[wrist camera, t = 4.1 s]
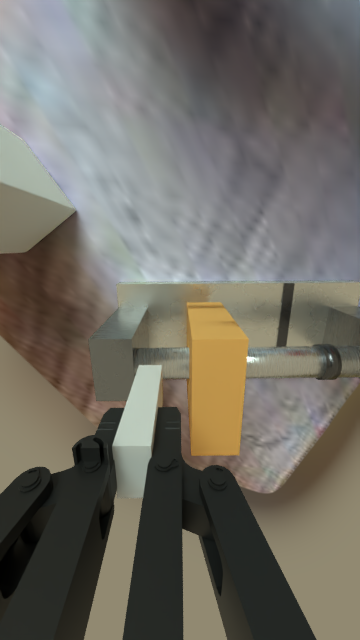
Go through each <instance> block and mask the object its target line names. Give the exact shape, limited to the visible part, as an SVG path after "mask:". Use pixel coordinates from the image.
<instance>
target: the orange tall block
mask: <svg viewBox="0 0 360 640" xmlns="http://www.w3.org/2000/svg"><path fill="white" fill-rule="evenodd" d="M248 343H249V339H248V337H247V336H246V335H245V333H244V332H243V331H242V329H241V328H240V327H239V325H238V324H237V323H236V322H235V320H234V319H233V318H232V316H231V315H230V314H229V312H228V311H227V310H226V308H225V307H224V306H223V304H222V303H221V302H187V347H189V379H187V394H188V411H189V427H190V443H191V456H209V455H239V451H240V439H241V427H242V415H243V403H244V391H245V379H246V367H247V355H248Z"/></svg>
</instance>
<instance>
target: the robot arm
mask: <svg viewBox="0 0 360 640" xmlns="http://www.w3.org/2000/svg"><path fill="white" fill-rule="evenodd" d="M162 405H163V383H162V365H139V367H138V370H137V373H136V376H135V379H134V382H133V385H132V388H131V391H130V394H129V397H128V400H127V403H126V406H125V408H110V409H109V410H108V411H107V412H106V413H105V414H104V415H103V418H102V420H101V422H100V424H99V427H98V430H97V431H96V434H95V435H91V436H87V437H85V438H82V439H81V440H79V441H78V442H77V443H76V444H75V445H74V446H73V448H72V451H73V457H74V463H75V466H74V467H72V468H70V469H67V470H64V471H61V472H57V473H54V474H51V473H50V471H49V469H47V468H45V467H35V468H32V469H29V470H27V471H25V472H23V473H22V474H21V475H20V476H18V477H17V478H16V479H15V480H14V481H13V482H12V483H11V484H10V485H9V486H8V487H7V488H6V489H5V490H4V491H3V492H2V493H1V494H0V640H84V636H85V631H86V628H87V623H88V619H89V615H90V611H91V607H92V602H93V598H94V594H95V590H96V586H97V581H98V578H99V573H100V569H101V565H102V561H103V557H104V553H105V548H106V544H107V540H108V535H109V532H110V527H111V523H112V519H113V515H114V497H115V494H116V490H117V498H143V501H142V508H141V516H140V522H139V529H138V536H137V543H136V550H135V557H134V564H133V571H132V578H131V585H130V592H129V599H128V606H127V612H126V619H125V626H124V634H123V640H183V567H182V566H183V562H182V529H185V530H187V531H190V532H192V533H195V534H197V535H199V539H200V543H201V546H202V550H203V553H204V557H205V561H206V564H207V568H208V571H209V575H210V578H211V582H212V586H213V589H214V593H215V597H216V600H217V604H218V608H219V611H220V615H221V618H222V621H223V625H224V629H225V632H226V636H227V640H316V638H315V636H314V634H313V632H312V630H311V628H310V626H309V624H308V622H307V620H306V618H305V616H304V614H303V612H302V610H301V608H300V606H299V604H298V602H297V600H296V598H295V596H294V594H293V592H292V590H291V588H290V586H289V584H288V582H287V581H286V578H285V577H284V574H283V572H282V570H281V569H280V566H279V565H278V563H277V561H276V559H275V557H274V555H273V553H272V551H271V549H270V547H269V545H268V543H267V541H266V539H265V537H264V535H263V533H262V531H261V529H260V527H259V525H258V523H257V521H256V519H255V517H254V515H253V513H252V511H251V509H250V507H249V505H248V503H247V501H246V499H245V497H244V495H243V493H242V491H241V489H240V487H239V485H238V483H237V481H236V479H235V477H234V476H233V474H232V473H231V472H230V471H229V470H228V469H226V468H225V467H222V466H219V465H211V466H209V467H207V468H205V469H204V470H203V471H200V470H197V469H194V468H192V467H190V466H189V465H187V464H186V463H185V461H184V460H183V458H182V455H181V414H180V412H179V410H178V409H177V407H162Z"/></svg>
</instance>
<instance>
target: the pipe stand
mask: <svg viewBox="0 0 360 640" xmlns="http://www.w3.org/2000/svg"><path fill="white" fill-rule="evenodd" d="M116 286H117V298H118V309H117V310H116V311H115V312H114V313H113V314H112V316H111V317H110V318H109V319H108V320H107V321H106V322H105V323H104V324H103V325H102V326H101V327H100V328H99V329H98V330H97V331H96V332H95V333H94V334H93V335H92V336H91V337H90V338H89V339H88V341H89V349H90V356H91V364H92V372H93V380H94V387H95V395H96V401H127V400H128V397H129V394H130V391H131V388H132V385H133V382H134V379H135V376H136V373H137V370H138V367H139V365H162V379H189V347H187V302H221V303H222V304H223V306H224V307H225V308H226V310H227V311H228V312H229V314H230V315H231V316H232V318H233V319H234V320H235V322H236V323H237V324H238V325H239V327H240V328H241V329H242V331H243V332H244V333H245V335H246V336H247V337H248V339H249V343H248V355H247V367H246V378H316V379H319V380H333V379H336V378H338V377H358V378H359V379H360V307H358V302H359V297H360V282H358V281H353V280H342V281H216V282H119V283H118V284H116Z"/></svg>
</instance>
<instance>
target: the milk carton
mask: <svg viewBox="0 0 360 640" xmlns="http://www.w3.org/2000/svg"><path fill="white" fill-rule="evenodd" d="M75 211H76V209H75V207H74V206H73V205H72V204H71V202H70V201H69V200H68V198H67V197H66V196H65V194H64V193H63V192H62V190H61V189H60V188H59V186H58V185H57V184H56V182H55V181H54V180H53V178H52V177H51V176H50V174H49V173H48V172H47V170H46V169H45V168H44V166H43V165H42V164H41V162H40V161H39V160H38V158H37V157H36V156H35V154H34V153H33V152H32V150H31V149H30V148H29V146H28V145H27V144H26V143H25V141H24V140H23V139H21V138H20V137H18V136H17V135H15V134H14V133H12V132H11V131H9V130H8V129H7V128H5V127H4V126H2V125H1V124H0V254H1V253H25V252H27V251H28V250H29V249H31V248H32V247H33V246H34V245H36V244H37V243H38V242H39V241H40V240H42V239H43V238H44V237H45V236H46V235H48V234H49V233H50V232H51V231H53V230H54V229H55V228H56V227H57V226H59V225H60V224H61V223H62V222H63V221H65V220H66V219H67V218H68V217H69V216H71V215H72V214H73V213H74V212H75Z"/></svg>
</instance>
